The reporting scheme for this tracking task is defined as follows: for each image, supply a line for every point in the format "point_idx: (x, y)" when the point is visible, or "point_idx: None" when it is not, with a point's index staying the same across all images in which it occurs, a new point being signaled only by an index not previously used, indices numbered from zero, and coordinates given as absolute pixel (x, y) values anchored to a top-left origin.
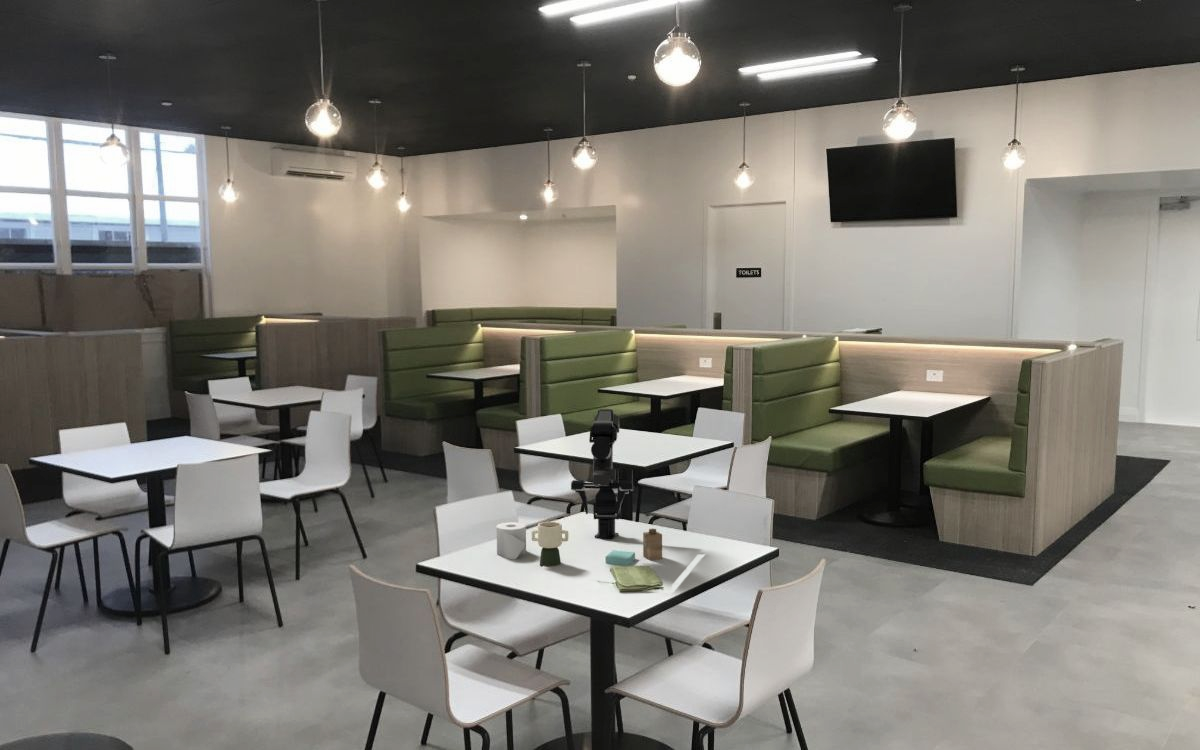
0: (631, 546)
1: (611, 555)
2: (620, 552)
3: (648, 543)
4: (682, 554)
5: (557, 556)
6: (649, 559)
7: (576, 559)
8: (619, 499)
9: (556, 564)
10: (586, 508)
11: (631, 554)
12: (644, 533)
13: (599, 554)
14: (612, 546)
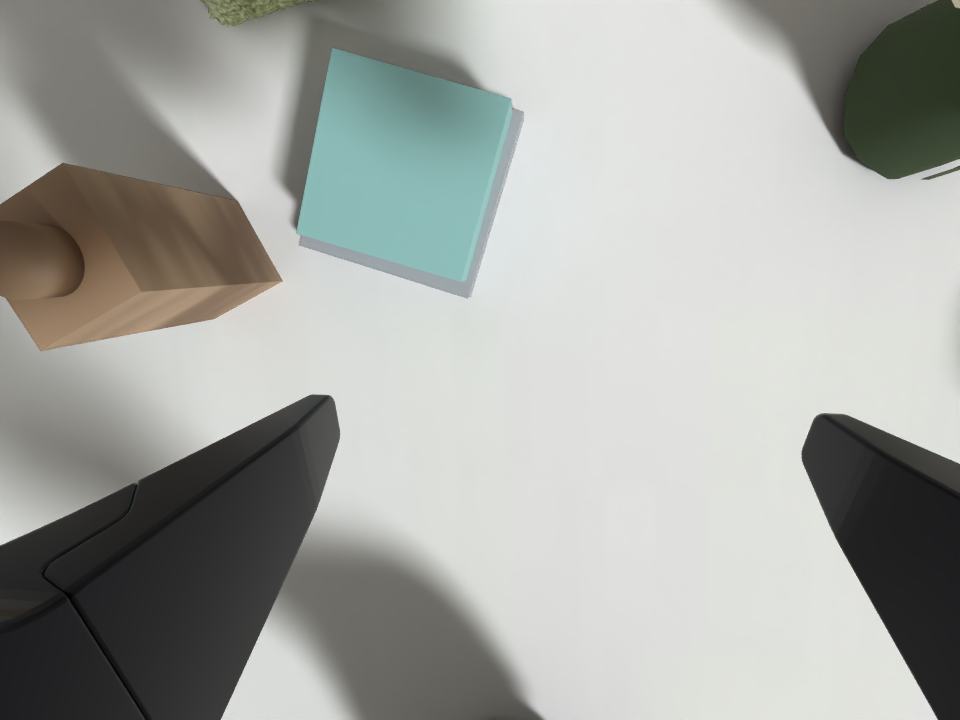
0: (372, 584)
1: (465, 135)
2: (401, 223)
3: (142, 197)
4: (79, 422)
5: (940, 12)
6: (217, 198)
7: (710, 315)
8: (82, 542)
9: (900, 22)
10: (908, 460)
11: (316, 170)
12: (128, 267)
13: (557, 427)
14: (481, 588)
